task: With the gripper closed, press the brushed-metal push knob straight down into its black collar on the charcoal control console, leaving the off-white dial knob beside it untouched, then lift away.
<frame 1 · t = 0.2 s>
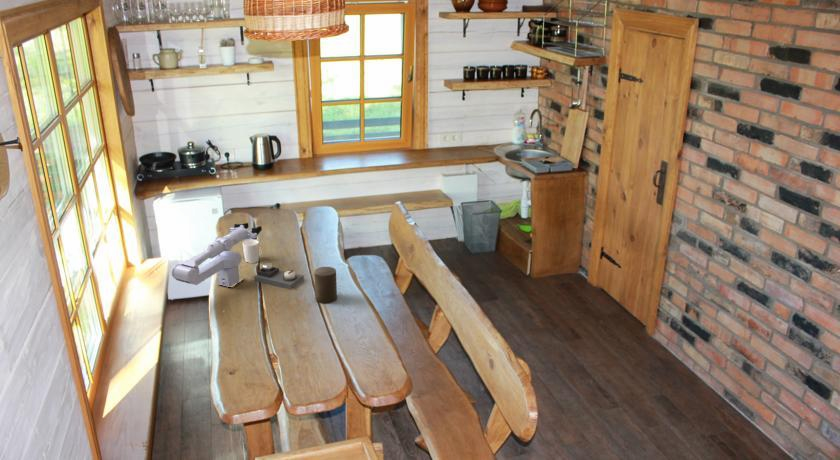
hand: (254, 226, 339), 21 cm above the table, tool horizontal, fingers open, 7 cm apart
white cup: (252, 261, 354), on the table
dial knob: (289, 274, 329), point 4 cm above the table, hinge at 0.0°
press knob: (267, 266, 333), point 6 cm above the table, slide at 0.0 cm
pillar candle: (326, 298, 317), on the table
console: (279, 280, 333), on the table
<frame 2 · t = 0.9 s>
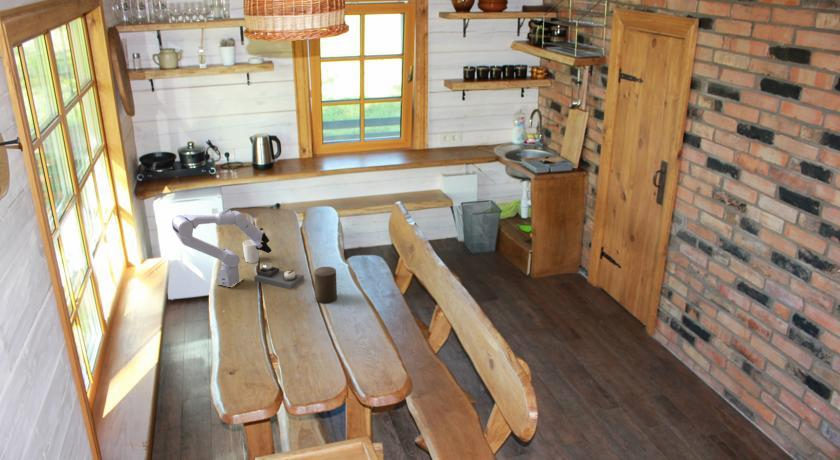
hand: (268, 246, 337), 13 cm above the table, tool tilted 40°, fingers open, 7 cm apart
nothing on the table moved.
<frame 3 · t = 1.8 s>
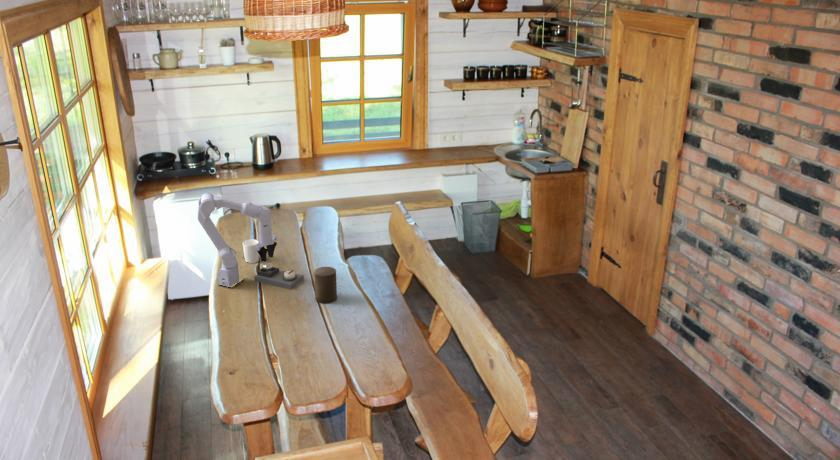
hand: (267, 259, 332), 10 cm above the table, tool pointing down, fingers open, 5 cm apart
nothing on the table moved.
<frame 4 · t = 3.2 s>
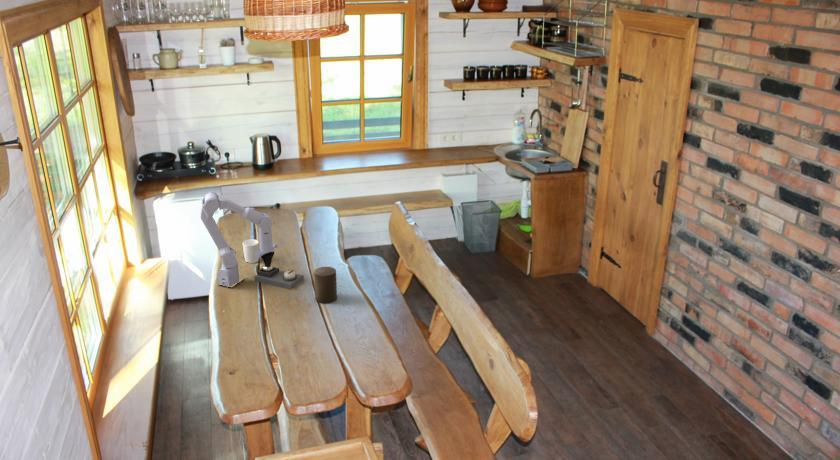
hand: (267, 266, 333), 6 cm above the table, tool pointing down, fingers closed, pressing on press knob
press knob: (268, 268, 333), point 5 cm above the table, slide at 0.8 cm, touching gripper
everything else where it was.
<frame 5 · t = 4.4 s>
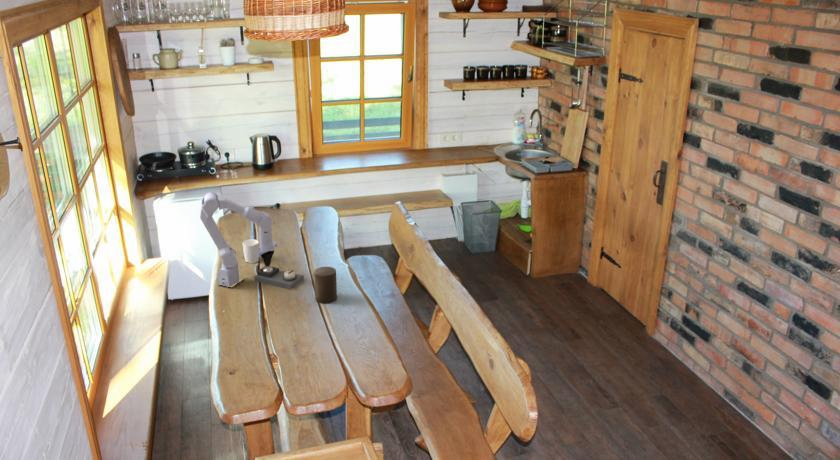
hand: (267, 265, 333), 7 cm above the table, tool pointing down, fingers closed
press knob: (268, 270, 334), point 4 cm above the table, slide at 2.1 cm
everything else where it was.
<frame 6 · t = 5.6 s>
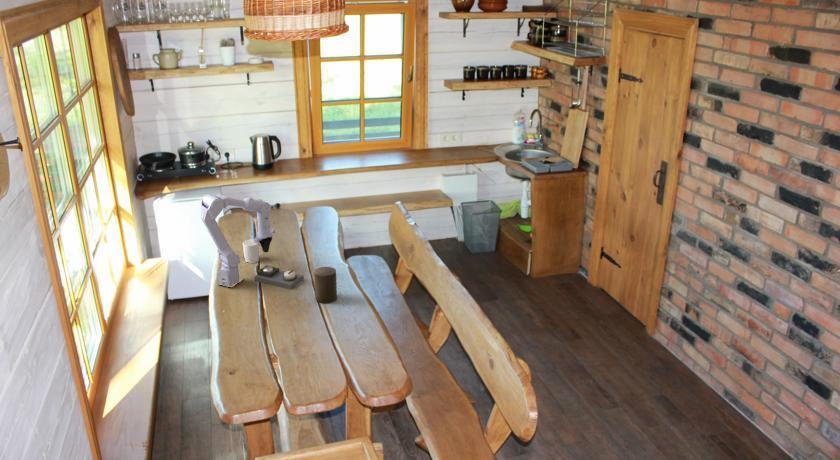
hand: (265, 251, 338), 10 cm above the table, tool pointing down, fingers closed
nothing on the table moved.
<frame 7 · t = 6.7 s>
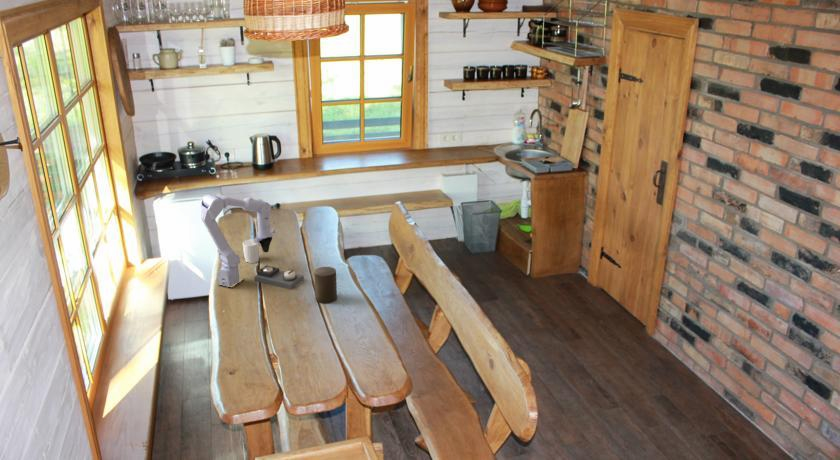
hand: (265, 251, 338), 10 cm above the table, tool pointing down, fingers closed
nothing on the table moved.
at the end: press knob slide at 2.1 cm; dial knob at +0° (first picture: +0°) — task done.
